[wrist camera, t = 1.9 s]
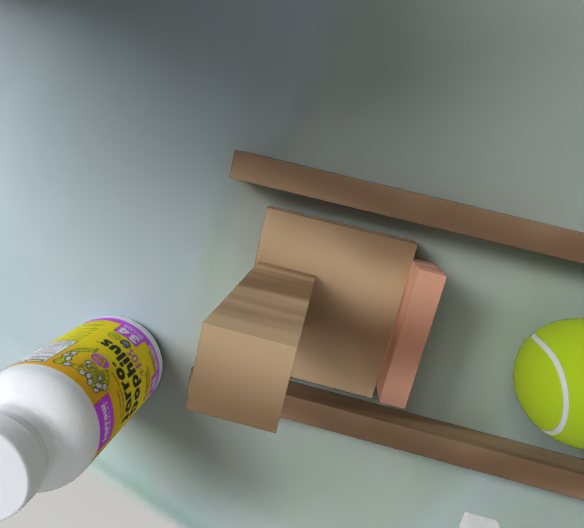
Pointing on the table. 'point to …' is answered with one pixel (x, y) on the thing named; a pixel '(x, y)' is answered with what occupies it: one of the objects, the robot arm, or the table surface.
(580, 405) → the tennis ball
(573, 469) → the track rails
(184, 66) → the table surface
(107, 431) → the supplement bottle
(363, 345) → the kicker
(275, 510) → the table surface
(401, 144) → the table surface
